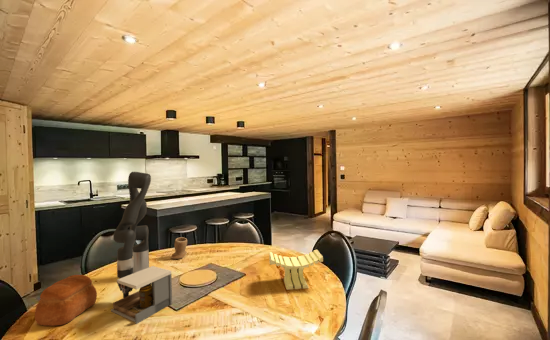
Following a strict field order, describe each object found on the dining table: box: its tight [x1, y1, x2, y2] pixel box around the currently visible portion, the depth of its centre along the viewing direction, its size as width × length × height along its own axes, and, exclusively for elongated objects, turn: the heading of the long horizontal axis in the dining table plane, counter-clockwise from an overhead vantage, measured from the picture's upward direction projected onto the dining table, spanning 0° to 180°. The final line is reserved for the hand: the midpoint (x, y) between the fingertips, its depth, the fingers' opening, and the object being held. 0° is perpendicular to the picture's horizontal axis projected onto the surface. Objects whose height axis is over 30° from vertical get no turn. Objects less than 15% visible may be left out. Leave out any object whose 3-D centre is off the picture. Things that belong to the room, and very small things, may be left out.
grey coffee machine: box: [110, 265, 173, 325], centre depth 132 cm, size 22×19×18 cm
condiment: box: [132, 283, 154, 313], centre depth 134 cm, size 7×8×12 cm
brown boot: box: [170, 236, 188, 260], centre depth 207 cm, size 15×12×15 cm
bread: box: [34, 274, 98, 327], centre depth 128 cm, size 18×22×17 cm
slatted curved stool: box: [268, 249, 324, 290], centre depth 157 cm, size 30×16×18 cm, turn 96°
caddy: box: [112, 290, 154, 318], centre depth 133 cm, size 20×16×4 cm
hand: (126, 299), depth 138 cm, fingers closed
